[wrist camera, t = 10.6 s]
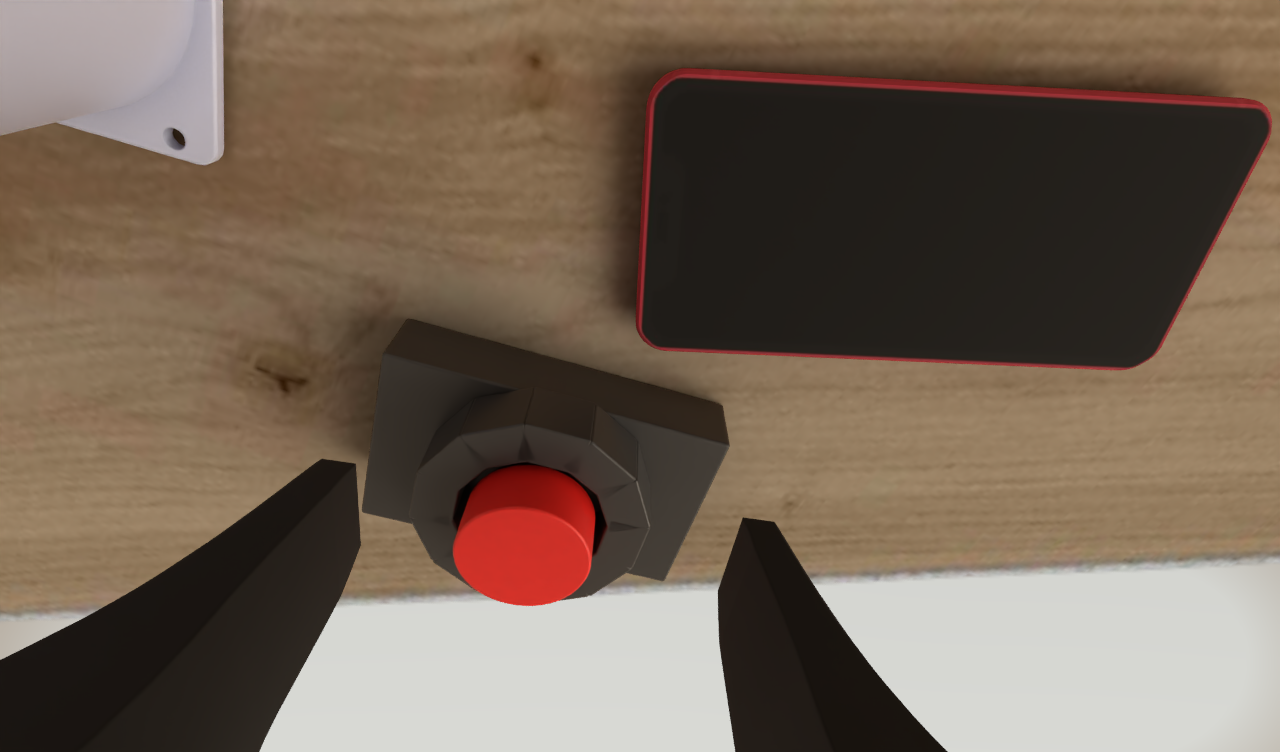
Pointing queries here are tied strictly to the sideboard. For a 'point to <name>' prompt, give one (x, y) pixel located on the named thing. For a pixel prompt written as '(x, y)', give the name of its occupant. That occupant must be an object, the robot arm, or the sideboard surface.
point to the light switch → (537, 445)
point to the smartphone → (930, 216)
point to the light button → (526, 536)
